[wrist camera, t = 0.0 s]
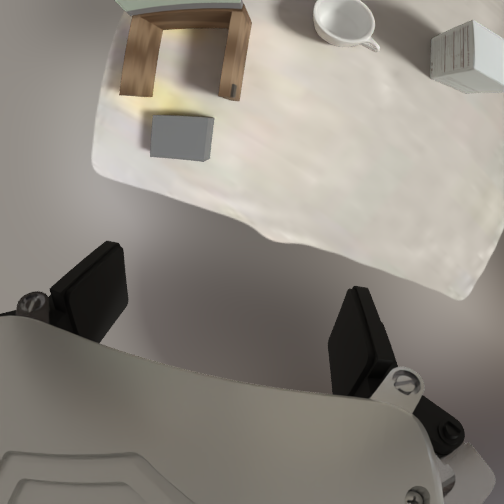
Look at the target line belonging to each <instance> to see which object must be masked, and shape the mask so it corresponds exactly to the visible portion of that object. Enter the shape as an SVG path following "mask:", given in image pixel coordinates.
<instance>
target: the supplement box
mask: <svg viewBox="0 0 504 504" xmlns="http://www.w3.org/2000/svg"><path fill="white" fill-rule="evenodd" d="M430 79H433V80H435V81H437V82H440V83H442V84H445V85H447V86H449V87H452V88H454V89H456V90H459V91H461V92H463V93H465V94H469V93H504V39H503V38H502V37H500V36H499V35H497V34H496V33H494V32H492V31H491V30H489V29H488V28H486V27H484V26H483V25H481V24H479V23H478V22H476V21H474V20H471V21H469V22H466V23H464V24H462V25H459V26H457V27H455V28H453V29H450V30H448V31H446V32H444V33H442V34H440V35H438V36H436V37H433V38H432V39H431V64H430Z"/></svg>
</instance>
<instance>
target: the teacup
mask: <svg viewBox="0 0 504 504" xmlns="http://www.w3.org/2000/svg"><path fill="white" fill-rule="evenodd" d="M313 21H314V26H315V30H316V32H317V33H318V35H319V36H320V37H321V38H323V39H324V40H325V41H327V42H328V43H330V44H332V45H334V46H338V47H352V46H356V45H358V44H359V45H362V46H365V47H366V48H368V49H370V50H372V51H374V52H378V51H379V50H380V46H379V45H378V44H377V43H376V42H375V41H374V40H373V39H372V38H371V35H372V33H373V31H374V29H375V20H374V16H373V14H372V12H371V11H370V9H369V8H368V7H367V6H366V5H365V4H364V3H363V2H362V1H360V0H317V1H316V3H315V5H314V9H313ZM368 43H370V44H372V45H374V46H375V47H376V48H374V47H372V46H371V45H369V44H368Z"/></svg>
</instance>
